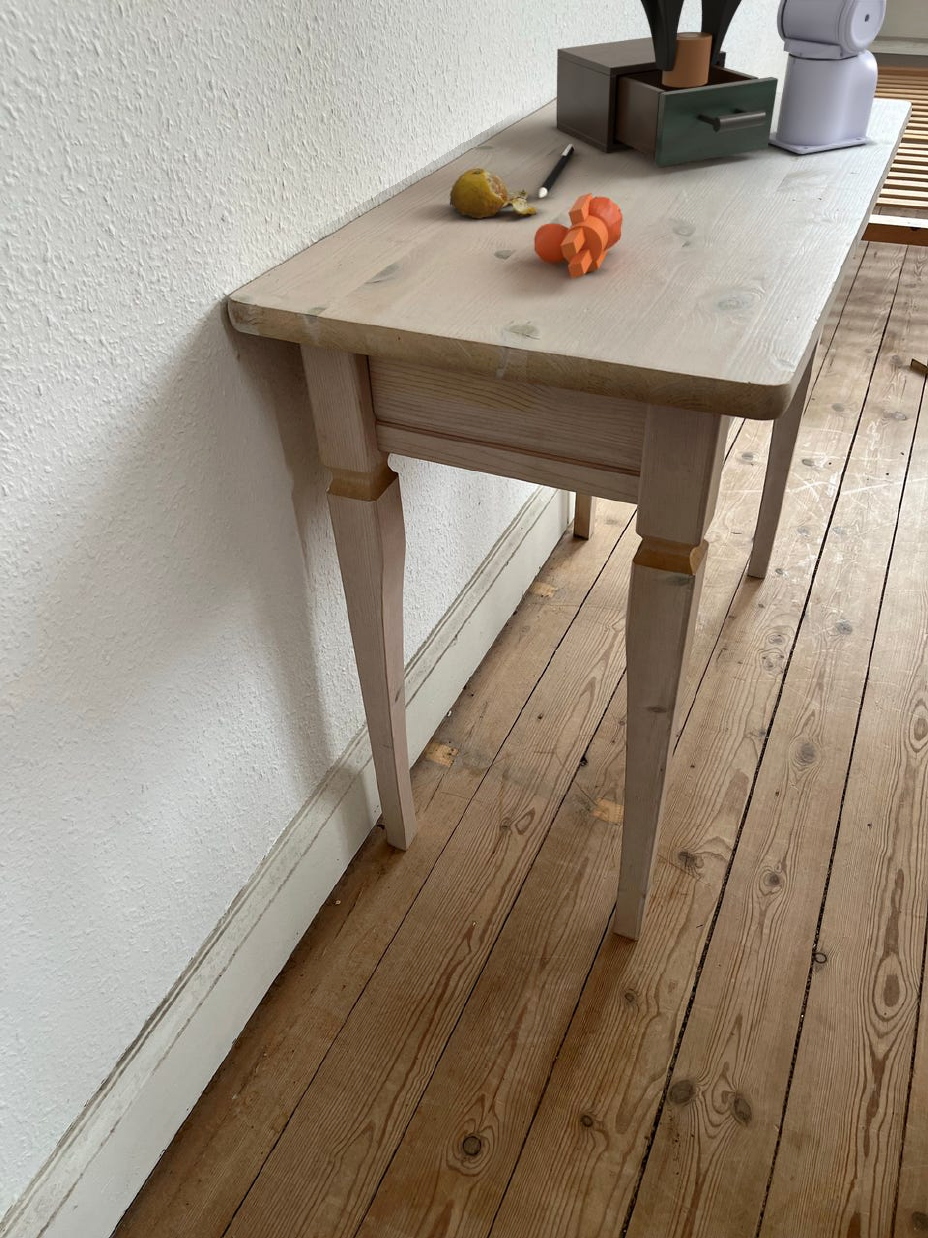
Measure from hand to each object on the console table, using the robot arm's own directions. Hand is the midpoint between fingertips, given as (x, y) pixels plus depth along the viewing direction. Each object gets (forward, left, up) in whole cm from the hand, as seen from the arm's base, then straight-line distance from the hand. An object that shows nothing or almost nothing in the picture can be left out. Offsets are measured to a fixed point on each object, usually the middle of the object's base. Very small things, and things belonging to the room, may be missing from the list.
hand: (686, 66), depth 92 cm
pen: (+10, -7, -10) cm, 16 cm away
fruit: (+20, +1, -11) cm, 23 cm away
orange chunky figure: (+20, +18, -11) cm, 29 cm away
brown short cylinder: (0, 0, -1) cm, 1 cm away
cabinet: (-6, -19, -10) cm, 23 cm away
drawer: (-6, -6, -9) cm, 12 cm away
